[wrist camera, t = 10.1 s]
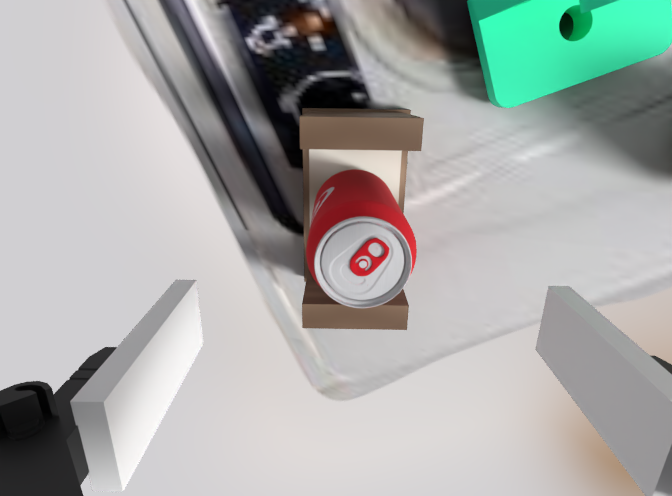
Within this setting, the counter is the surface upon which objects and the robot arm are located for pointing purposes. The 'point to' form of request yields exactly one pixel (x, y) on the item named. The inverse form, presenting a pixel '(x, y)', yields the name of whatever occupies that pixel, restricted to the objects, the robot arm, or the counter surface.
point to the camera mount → (562, 42)
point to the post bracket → (345, 154)
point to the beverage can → (359, 240)
